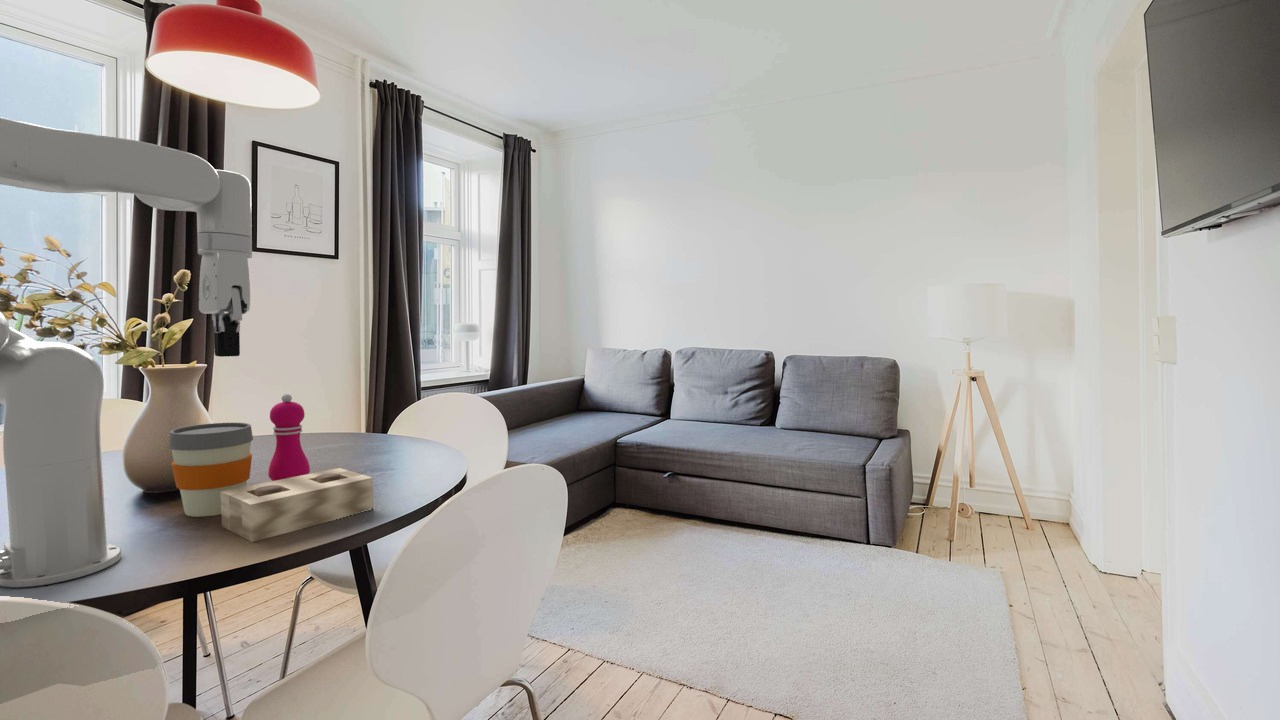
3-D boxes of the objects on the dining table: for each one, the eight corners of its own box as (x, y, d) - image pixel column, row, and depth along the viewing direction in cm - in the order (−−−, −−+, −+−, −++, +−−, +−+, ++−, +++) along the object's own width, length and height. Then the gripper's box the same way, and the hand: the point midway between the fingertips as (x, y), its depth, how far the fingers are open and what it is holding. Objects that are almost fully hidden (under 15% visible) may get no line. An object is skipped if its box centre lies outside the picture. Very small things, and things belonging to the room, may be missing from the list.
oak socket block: (252, 542, 93) (250, 504, 93) (221, 526, 100) (220, 491, 100) (373, 509, 109) (372, 477, 109) (340, 498, 116) (339, 467, 116)
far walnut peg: (323, 513, 106) (322, 480, 106) (313, 509, 108) (311, 476, 108) (346, 507, 109) (345, 475, 109) (335, 503, 112) (334, 472, 111)
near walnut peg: (262, 529, 98) (260, 493, 98) (251, 524, 100) (250, 489, 100) (287, 522, 101) (286, 487, 101) (277, 517, 104) (276, 483, 103)
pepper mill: (291, 498, 116) (288, 396, 115) (260, 496, 118) (256, 395, 116) (318, 488, 123) (315, 392, 122) (288, 486, 125) (285, 391, 123)
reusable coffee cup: (271, 500, 115) (268, 423, 114) (216, 521, 103) (212, 435, 102) (214, 497, 117) (211, 421, 116) (153, 517, 105) (148, 433, 104)
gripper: (184, 248, 102) (186, 355, 103) (213, 240, 93) (216, 358, 93) (235, 253, 108) (236, 354, 109) (267, 246, 98) (269, 357, 99)
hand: (227, 355), depth 101 cm, fingers closed
